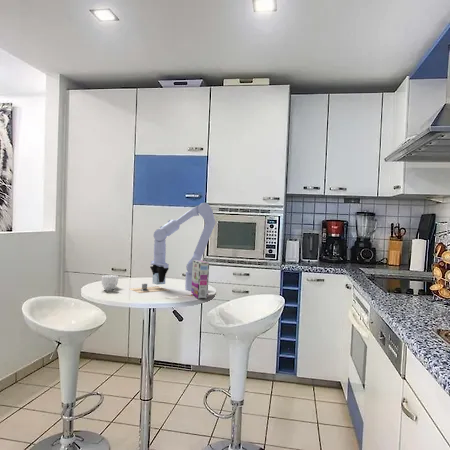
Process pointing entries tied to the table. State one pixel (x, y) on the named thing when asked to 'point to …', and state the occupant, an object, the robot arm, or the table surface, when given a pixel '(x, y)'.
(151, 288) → the post board
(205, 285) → the candy bar box
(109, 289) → the cup
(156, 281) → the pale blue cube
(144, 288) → the post
